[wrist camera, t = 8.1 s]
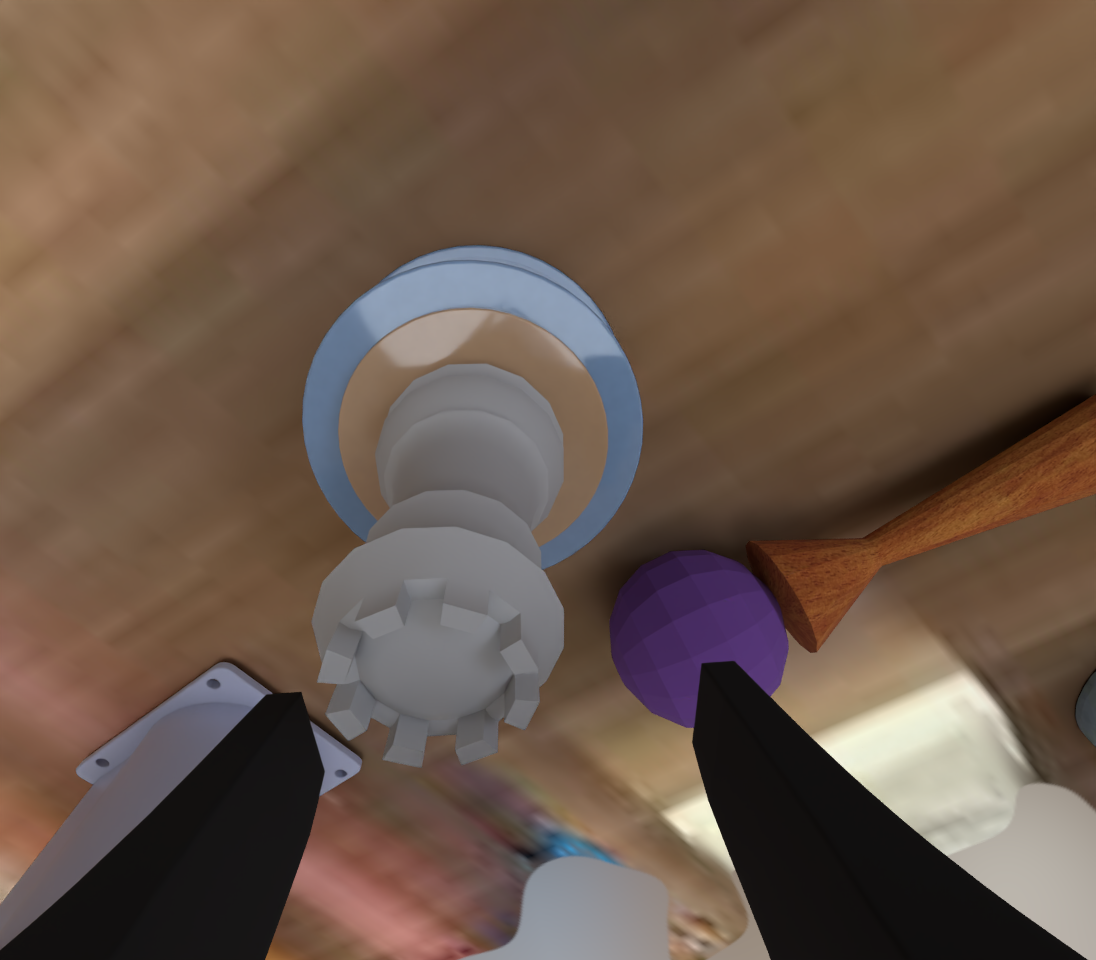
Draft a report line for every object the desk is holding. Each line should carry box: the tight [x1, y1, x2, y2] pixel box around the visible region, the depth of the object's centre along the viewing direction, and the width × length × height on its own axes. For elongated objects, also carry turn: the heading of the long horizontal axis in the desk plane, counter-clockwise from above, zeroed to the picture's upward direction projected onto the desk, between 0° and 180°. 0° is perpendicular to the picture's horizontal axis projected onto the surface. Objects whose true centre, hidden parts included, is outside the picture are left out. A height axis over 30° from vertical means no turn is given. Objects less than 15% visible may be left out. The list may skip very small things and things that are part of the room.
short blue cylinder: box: [302, 245, 643, 570], centre depth 16 cm, size 9×9×5 cm
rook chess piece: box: [312, 364, 564, 768], centre depth 10 cm, size 4×4×8 cm
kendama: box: [609, 394, 1096, 728], centre depth 18 cm, size 6×6×20 cm
